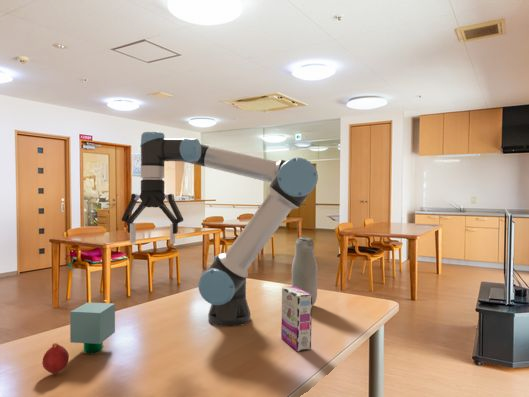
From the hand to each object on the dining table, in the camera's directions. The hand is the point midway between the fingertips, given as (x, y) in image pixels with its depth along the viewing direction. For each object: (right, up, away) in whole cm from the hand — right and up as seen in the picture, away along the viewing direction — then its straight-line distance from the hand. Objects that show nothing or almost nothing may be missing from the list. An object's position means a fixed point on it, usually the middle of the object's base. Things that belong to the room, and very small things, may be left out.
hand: (152, 243), depth 127 cm
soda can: (-12, -29, -17) cm, 36 cm away
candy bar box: (+47, -30, -10) cm, 56 cm away
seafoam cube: (-12, -25, -17) cm, 33 cm away
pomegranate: (-15, -30, -31) cm, 45 cm away
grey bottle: (+53, -29, +27) cm, 66 cm away
